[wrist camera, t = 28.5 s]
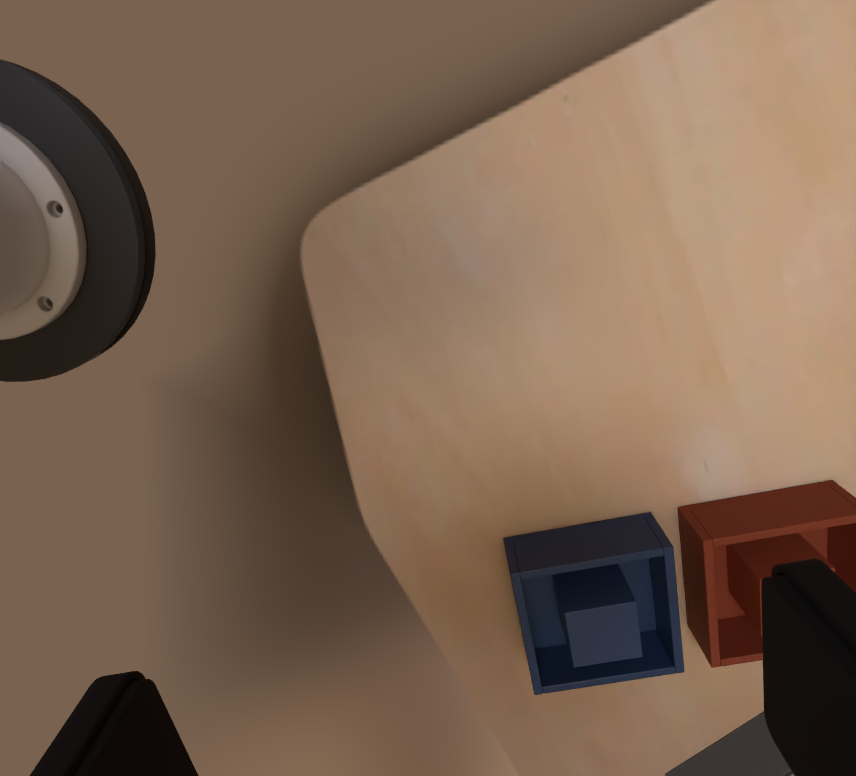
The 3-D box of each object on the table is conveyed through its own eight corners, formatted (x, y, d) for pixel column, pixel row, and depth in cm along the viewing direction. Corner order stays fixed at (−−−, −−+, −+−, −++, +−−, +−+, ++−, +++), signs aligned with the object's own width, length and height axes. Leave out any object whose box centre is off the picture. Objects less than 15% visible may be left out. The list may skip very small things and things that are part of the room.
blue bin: (526, 651, 44) (534, 695, 40) (503, 537, 41) (510, 574, 37) (662, 629, 43) (684, 672, 40) (650, 511, 40) (673, 546, 36)
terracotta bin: (687, 625, 43) (711, 668, 39) (677, 506, 40) (702, 541, 36) (830, 602, 42) (869, 643, 39) (832, 479, 39) (875, 511, 35)
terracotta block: (728, 591, 42) (761, 638, 37) (725, 538, 40) (759, 580, 36) (793, 580, 41) (834, 626, 37) (793, 526, 40) (835, 568, 35)
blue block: (559, 619, 43) (573, 668, 38) (550, 568, 41) (564, 613, 37) (622, 609, 42) (643, 657, 38) (615, 557, 41) (636, 601, 36)
